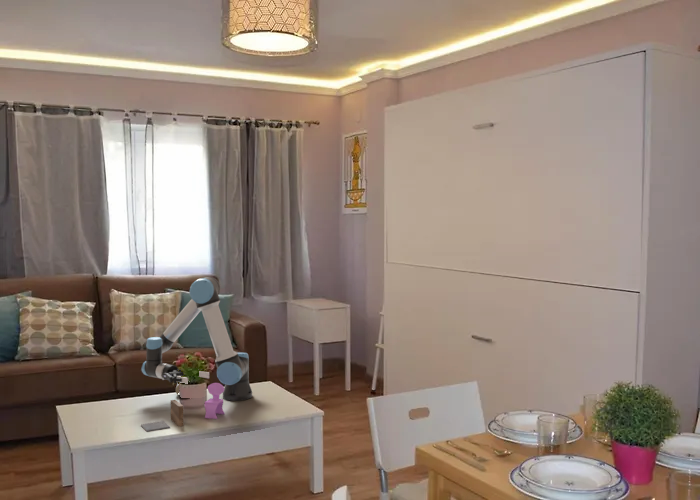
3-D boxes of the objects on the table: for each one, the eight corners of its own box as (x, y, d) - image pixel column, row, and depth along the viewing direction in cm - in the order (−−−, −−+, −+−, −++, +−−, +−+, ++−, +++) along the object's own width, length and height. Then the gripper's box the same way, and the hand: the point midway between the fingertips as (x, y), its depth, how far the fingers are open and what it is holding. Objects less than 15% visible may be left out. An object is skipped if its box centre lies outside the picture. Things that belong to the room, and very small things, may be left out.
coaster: (163, 422, 298) (163, 420, 298) (169, 427, 290) (169, 426, 290) (140, 425, 293) (140, 424, 293) (146, 431, 285) (146, 430, 285)
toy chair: (202, 418, 305) (201, 385, 304) (210, 412, 313) (210, 381, 313) (218, 419, 303) (218, 386, 302) (226, 414, 311) (226, 382, 311)
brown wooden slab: (175, 419, 303) (174, 399, 303) (183, 425, 293) (183, 405, 293) (170, 419, 302) (170, 400, 302) (178, 426, 292) (178, 406, 292)
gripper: (186, 374, 335) (217, 381, 323) (146, 384, 314) (178, 391, 302) (186, 360, 335) (217, 365, 323) (147, 368, 314) (178, 375, 302)
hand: (198, 378), depth 313 cm, fingers open, 13 cm apart
